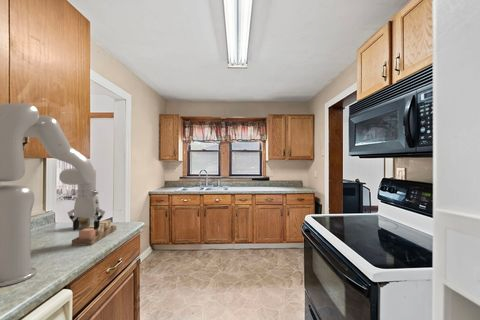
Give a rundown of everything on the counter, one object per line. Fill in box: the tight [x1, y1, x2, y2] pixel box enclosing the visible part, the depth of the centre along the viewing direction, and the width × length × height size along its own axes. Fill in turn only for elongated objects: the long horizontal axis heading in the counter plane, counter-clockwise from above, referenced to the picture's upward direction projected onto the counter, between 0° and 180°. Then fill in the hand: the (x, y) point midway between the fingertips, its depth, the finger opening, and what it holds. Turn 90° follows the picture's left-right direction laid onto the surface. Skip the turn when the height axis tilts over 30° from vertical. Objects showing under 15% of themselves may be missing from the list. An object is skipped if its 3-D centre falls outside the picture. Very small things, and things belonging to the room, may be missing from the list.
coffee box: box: [77, 217, 95, 230], centre depth 144 cm, size 9×6×16 cm
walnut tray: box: [71, 219, 117, 246], centre depth 126 cm, size 25×9×6 cm, turn 2°
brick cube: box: [78, 228, 95, 239], centre depth 118 cm, size 5×5×5 cm
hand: (86, 229), depth 117 cm, fingers open, 9 cm apart
